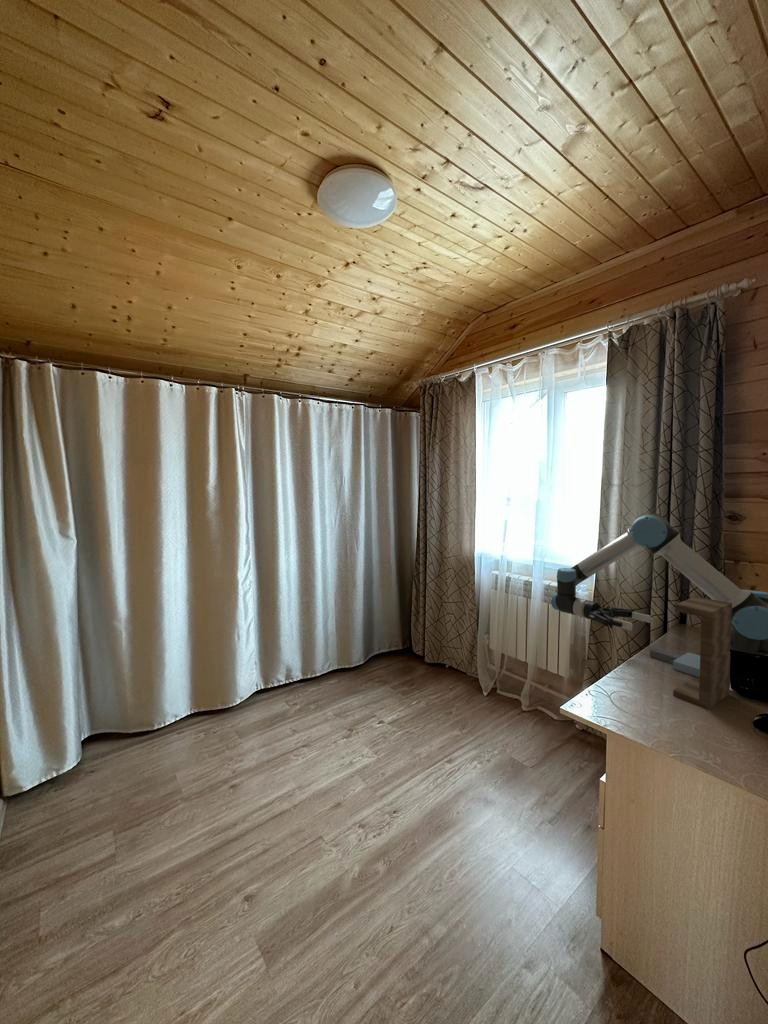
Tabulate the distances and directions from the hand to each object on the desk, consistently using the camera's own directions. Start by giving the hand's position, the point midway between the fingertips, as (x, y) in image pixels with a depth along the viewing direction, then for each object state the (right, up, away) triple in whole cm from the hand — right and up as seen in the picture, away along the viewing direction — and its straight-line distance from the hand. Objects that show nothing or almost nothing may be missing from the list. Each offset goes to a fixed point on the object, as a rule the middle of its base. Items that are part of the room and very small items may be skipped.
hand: (641, 623), depth 150 cm
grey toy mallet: (+7, -12, -10) cm, 17 cm away
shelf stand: (-2, -13, -30) cm, 33 cm away
